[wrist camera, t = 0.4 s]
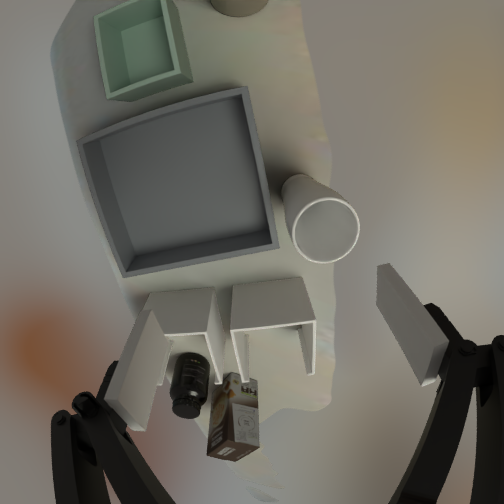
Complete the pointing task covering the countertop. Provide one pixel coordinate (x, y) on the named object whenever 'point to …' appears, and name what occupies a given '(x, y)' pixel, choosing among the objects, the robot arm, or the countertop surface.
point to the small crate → (141, 49)
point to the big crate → (181, 184)
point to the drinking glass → (318, 220)
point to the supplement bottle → (189, 385)
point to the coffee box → (234, 419)
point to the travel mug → (239, 7)
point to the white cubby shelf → (236, 319)
